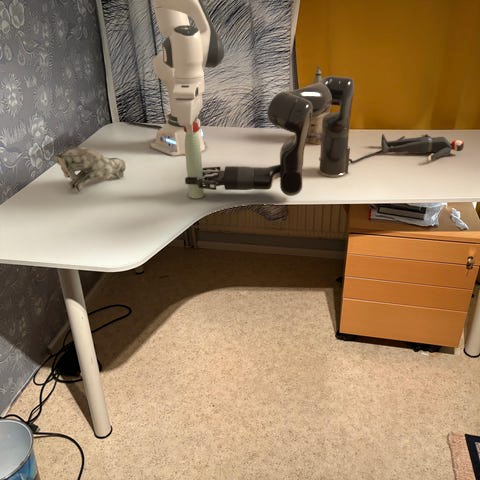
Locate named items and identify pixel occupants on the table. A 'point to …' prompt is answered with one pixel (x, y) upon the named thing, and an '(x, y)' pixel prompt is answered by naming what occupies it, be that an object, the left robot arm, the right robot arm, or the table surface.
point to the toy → (421, 145)
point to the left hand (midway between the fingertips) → (192, 131)
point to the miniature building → (316, 118)
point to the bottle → (193, 163)
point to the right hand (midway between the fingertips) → (186, 177)
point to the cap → (195, 127)
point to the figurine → (88, 166)
